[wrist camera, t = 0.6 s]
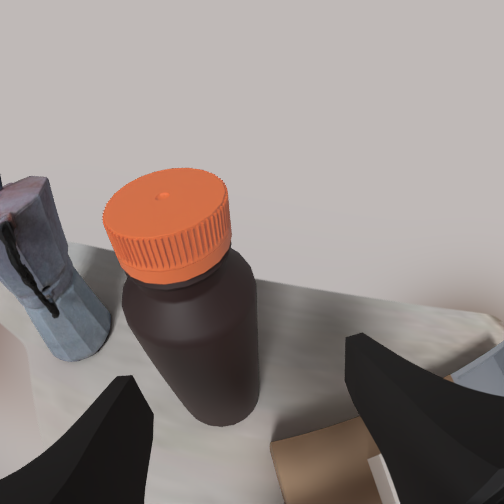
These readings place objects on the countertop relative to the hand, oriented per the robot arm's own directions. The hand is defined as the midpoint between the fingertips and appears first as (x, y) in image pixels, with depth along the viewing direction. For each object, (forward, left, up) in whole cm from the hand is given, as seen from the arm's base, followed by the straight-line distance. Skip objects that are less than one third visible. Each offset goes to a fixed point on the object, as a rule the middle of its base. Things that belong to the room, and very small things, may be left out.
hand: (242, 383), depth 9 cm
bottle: (+6, +2, -17) cm, 18 cm away
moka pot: (+15, +17, -17) cm, 28 cm away
